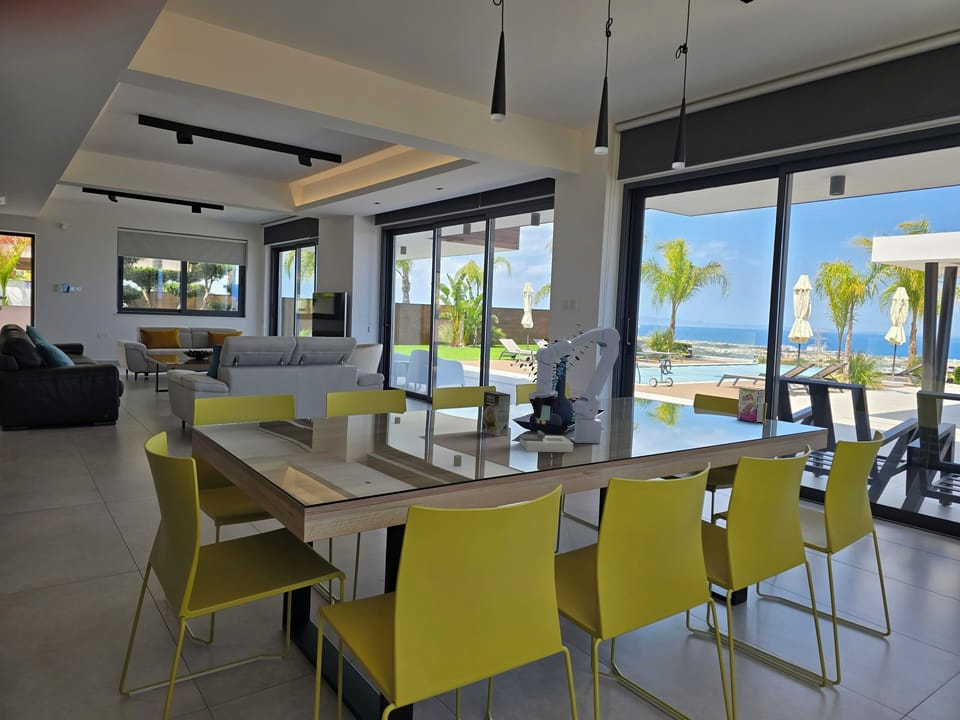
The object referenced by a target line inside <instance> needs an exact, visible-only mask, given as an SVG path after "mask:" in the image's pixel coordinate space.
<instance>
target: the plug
mask: <svg viewBox="0 0 960 720" xmlns="http://www.w3.org/2000/svg"><path fill="white" fill-rule="evenodd" d="M534 419H536V423H537V424H540V423H541V424H542V425H546V421H550V420H551V415H550V406H547V405H544V404H543V406H542V410H541V417H540V418H535V417H534Z"/></svg>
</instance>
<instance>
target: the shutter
mask: <svg viewBox="0 0 960 720" xmlns="http://www.w3.org/2000/svg"><path fill="white" fill-rule="evenodd" d="M545 436H546V434H545V433H544V432H543V431H542V430H537V434H527V433H526V434H525V433H524V434H523V433H522V434H521V433H520V434H519V439H520V438H521V439H522V440H526V441H543V439H545Z"/></svg>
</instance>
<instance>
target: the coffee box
mask: <svg viewBox="0 0 960 720" xmlns="http://www.w3.org/2000/svg"><path fill="white" fill-rule="evenodd" d="M483 393H484V394H483V413H482V416H483V417H482V433H484V434H488V435H492V436H495V437H500V436H501V437H502V436H503V437H504V436H509V428H510V427H509V425H510V407H511V394H510V393H506V392H505V393H504V392H500V391H495V390H494V391H489V390H488V391H483Z"/></svg>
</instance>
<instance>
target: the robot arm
mask: <svg viewBox="0 0 960 720" xmlns="http://www.w3.org/2000/svg"><path fill="white" fill-rule="evenodd" d="M620 340H621V336H620V333H619V331H618V330H617V328H616V327H611V326H610V327H603V326H597V327H596V328H592V329H590V330H588V331H586V332H584V333H582V334H579V335H577V336H576V337H573V338H572V339H569V340H568V339H566V338H564V339H563V338H560V339H558V341H557V342H554V343H552V344H550V343H549V344H547V345H546V347H540V348H538V350H537V351H536V353H535V355H534V357H535V361H536V362H537V365H536V366H537V367H536V383H535V384H536V385H535V392H534V391H533V392H529V393H528V399H529V402H530V404H531V406H532V410H533V416H534V419H535V418H540V417H541V410H542V406H543V405H547V406H550V416H552V411H553V410H554V406H555V404H556V403H557V402H558V395H559V393H558V391H557V390H553V389H552V388H553V372H554V371H553V368H554V366H553V365H554V363H555V362H556V360H558V359H561V358H564V357H566V356H567V355H569V354H571V353H572V352H573V349H575V348H577V347H581V346H583V345H585V344H587V343H590V342H595V343H596V344H597V345H598V347H599V348H600V350H601V353H602V355H601V357H600V358H599V361H598V364H597V365H596V367H595V370H594V372H593V374H592V376H591V378H590V381H589V382H588V385H587V387H586V389H585V391H583V392H582V393H581V394H580V395H579V397H578V399H576V400H575V401H574V403H572V404H573V405H572V406H573V407H572V410H573V412H574V413H575V415H574V416H575V418H574V420H575V421H574V435H573V437H570V440H572V441H573V442H574V443H577V444H601V443H602V442H601V432H602V422H601V419H600V418H596V417H597V416H598V413H599V406H600V403H601V401H600V394H601V393H602V390H603V389H604V387H605V384H606V382H607V380H608V378H609V376H610V374H611V372H612V369H613V367H614V365H615V364H616V361H617V358H618V357H619V354H620V352H619V351H620V350H619V349H620V347H619V345H620ZM552 390H553V391H552Z"/></svg>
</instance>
